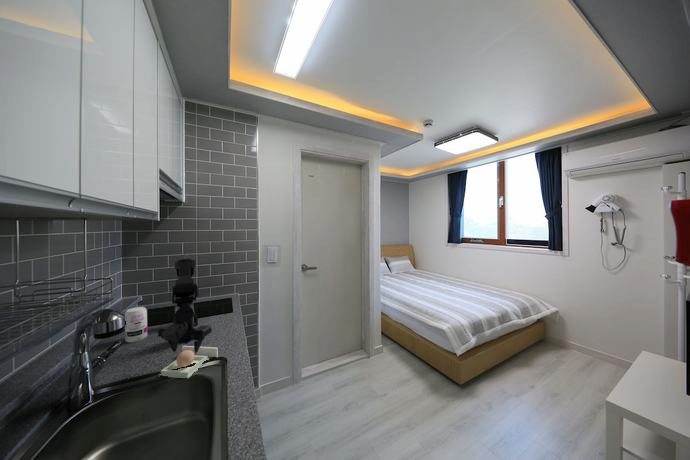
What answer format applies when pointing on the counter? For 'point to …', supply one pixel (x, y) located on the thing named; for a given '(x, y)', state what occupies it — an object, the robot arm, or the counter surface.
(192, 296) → the robot arm
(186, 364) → the ball
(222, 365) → the counter surface
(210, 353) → the low wall
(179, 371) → the sage mat
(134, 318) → the supplement can
